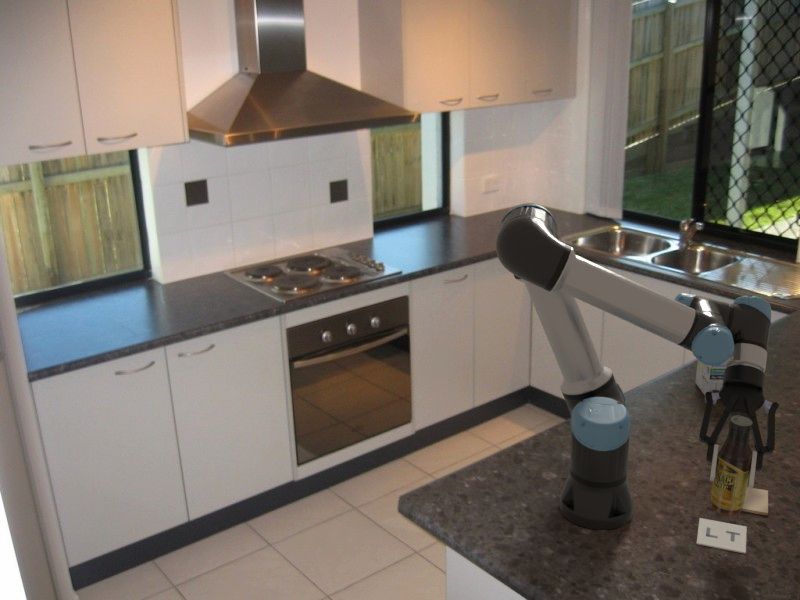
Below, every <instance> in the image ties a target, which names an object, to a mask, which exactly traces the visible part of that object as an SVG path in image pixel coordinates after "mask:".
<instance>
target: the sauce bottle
mask: <svg viewBox="0 0 800 600" xmlns="http://www.w3.org/2000/svg"><path fill="white" fill-rule="evenodd" d="M728 425H729V426H728V427H729V429H728V434H727V437H726V439H725V441H724V443H723V445H722V446H721V449H720V450H719V451H718V455H717V463H716V470H715V478H714V481H712V483H711V491H710V494H709V495H710V496H709V498H710V500H709V504H710V507H711V509H712V510H713V511H714V512H716V513H719V514H721V515H723V516H726V517H730V516H737V515H740V513H741V512H742V511H741V510H742V507H743V505H744V500H745V495H746V489H747V487H748V484H749V475H750V468H751V460H752V453H753V451H752V449H751V447H750V444H749V442H750V435H751V429H752V425H753V422H752V421H751V420H750V419H749V418H747V417H744V416H741V415H732V416H730V417H729V423H728Z"/></svg>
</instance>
